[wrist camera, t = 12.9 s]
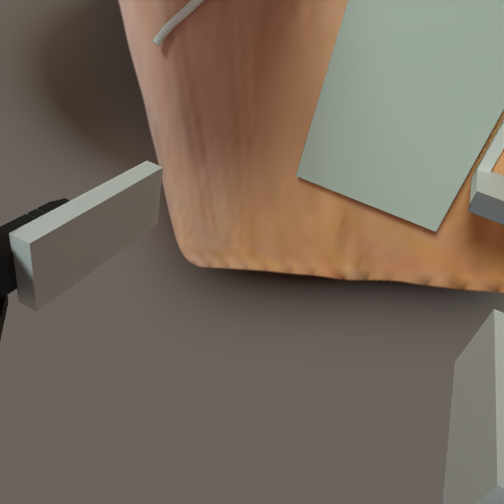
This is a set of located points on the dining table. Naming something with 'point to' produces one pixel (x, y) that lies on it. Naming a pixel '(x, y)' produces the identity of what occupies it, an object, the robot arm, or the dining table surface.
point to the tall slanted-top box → (176, 20)
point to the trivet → (407, 103)
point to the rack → (489, 183)
